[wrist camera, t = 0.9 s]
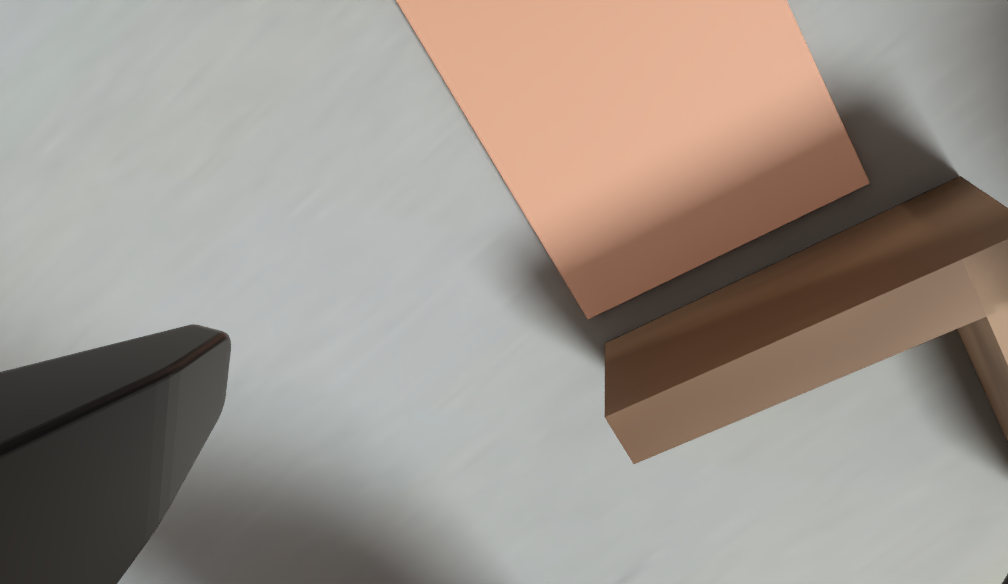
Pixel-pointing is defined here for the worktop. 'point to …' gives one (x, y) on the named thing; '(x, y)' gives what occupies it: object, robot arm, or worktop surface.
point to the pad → (643, 127)
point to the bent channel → (820, 321)
